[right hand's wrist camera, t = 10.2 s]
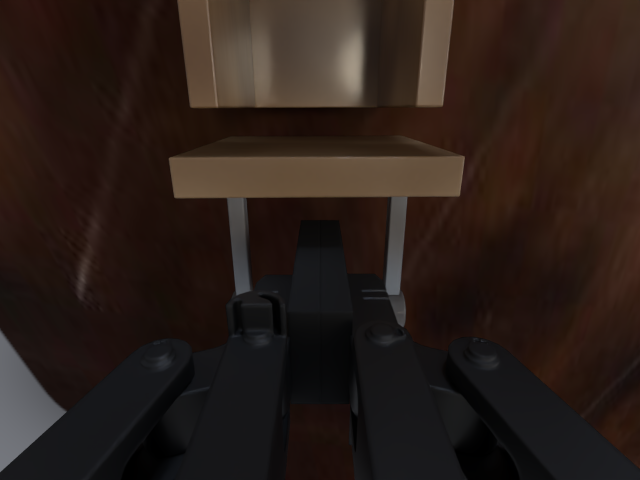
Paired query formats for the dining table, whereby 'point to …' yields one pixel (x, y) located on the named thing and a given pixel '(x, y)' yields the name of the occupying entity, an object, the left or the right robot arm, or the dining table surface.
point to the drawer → (316, 92)
